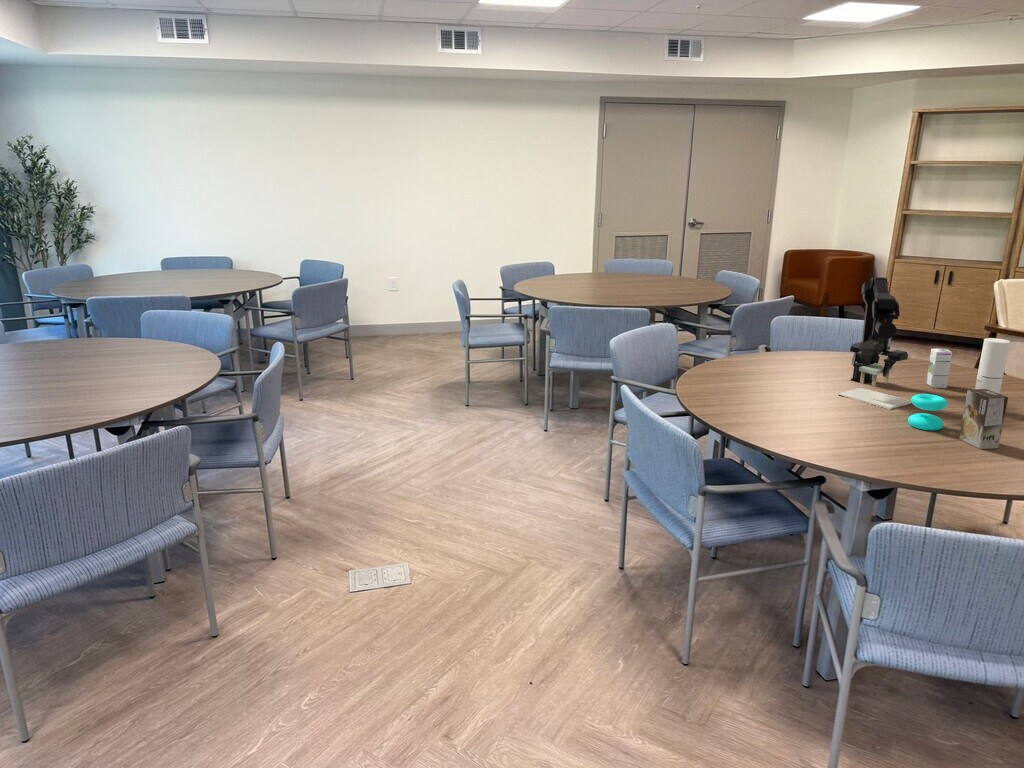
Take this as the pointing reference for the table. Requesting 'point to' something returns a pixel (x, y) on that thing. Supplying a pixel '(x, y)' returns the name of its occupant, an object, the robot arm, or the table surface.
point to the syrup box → (939, 368)
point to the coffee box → (983, 418)
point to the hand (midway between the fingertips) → (875, 374)
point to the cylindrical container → (992, 364)
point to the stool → (873, 372)
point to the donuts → (924, 419)
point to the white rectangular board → (876, 398)
